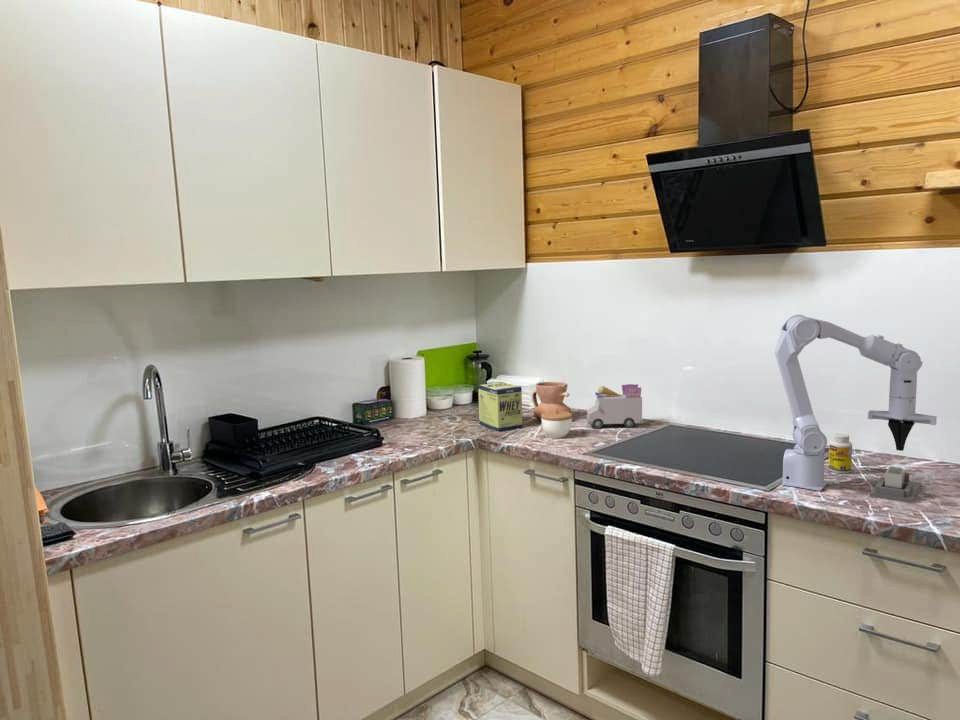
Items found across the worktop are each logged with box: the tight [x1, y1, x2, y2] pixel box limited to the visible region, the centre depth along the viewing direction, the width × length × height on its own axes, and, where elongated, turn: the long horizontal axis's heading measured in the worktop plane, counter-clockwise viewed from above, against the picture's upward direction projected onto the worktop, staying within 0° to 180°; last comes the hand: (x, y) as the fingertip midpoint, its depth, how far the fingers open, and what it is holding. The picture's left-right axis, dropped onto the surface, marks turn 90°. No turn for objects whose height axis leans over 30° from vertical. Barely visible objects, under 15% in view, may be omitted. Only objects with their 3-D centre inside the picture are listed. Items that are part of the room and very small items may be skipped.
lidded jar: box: [540, 409, 573, 439], centre depth 241 cm, size 11×11×9 cm
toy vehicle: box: [585, 383, 644, 430], centre depth 252 cm, size 9×20×15 cm, turn 88°
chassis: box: [869, 476, 923, 504], centre depth 173 cm, size 9×15×2 cm, turn 141°
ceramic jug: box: [531, 381, 572, 421], centre depth 267 cm, size 18×14×14 cm
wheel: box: [904, 472, 910, 482], centre depth 175 cm, size 4×4×2 cm
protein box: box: [477, 381, 523, 433], centre depth 258 cm, size 10×16×16 cm
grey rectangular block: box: [884, 466, 906, 490], centre depth 170 cm, size 4×4×6 cm
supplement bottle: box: [828, 433, 853, 474], centre depth 190 cm, size 6×6×10 cm
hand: (900, 449), depth 175 cm, fingers closed
